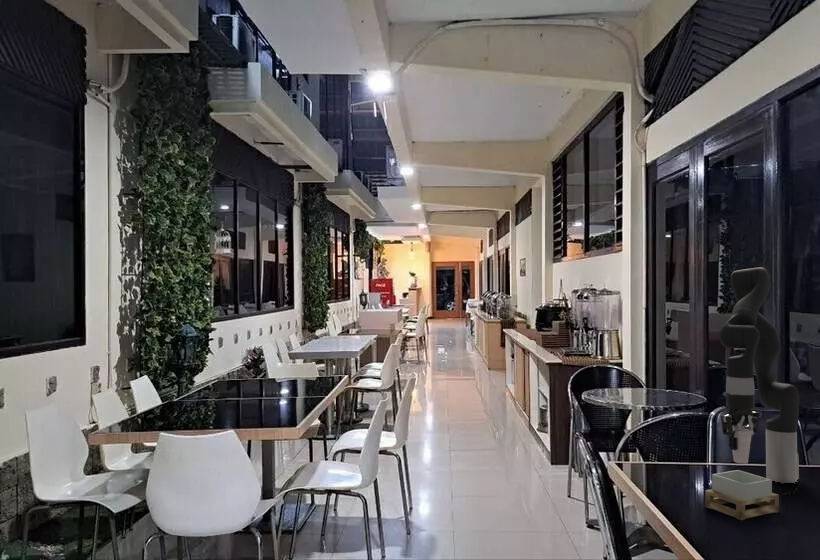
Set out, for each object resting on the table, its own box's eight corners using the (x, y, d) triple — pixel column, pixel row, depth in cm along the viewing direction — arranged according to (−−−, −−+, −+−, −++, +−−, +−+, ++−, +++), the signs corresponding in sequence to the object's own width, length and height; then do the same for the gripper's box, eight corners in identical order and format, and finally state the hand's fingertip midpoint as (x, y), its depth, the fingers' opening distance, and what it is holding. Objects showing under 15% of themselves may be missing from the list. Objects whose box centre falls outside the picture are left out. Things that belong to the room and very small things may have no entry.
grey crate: (737, 484, 193) (737, 469, 193) (771, 495, 182) (771, 479, 183) (712, 489, 188) (712, 474, 188) (745, 500, 178) (745, 484, 178)
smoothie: (756, 465, 182) (755, 417, 182) (732, 464, 183) (732, 416, 183) (748, 459, 188) (748, 413, 188) (726, 458, 189) (725, 412, 190)
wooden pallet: (742, 499, 194) (742, 483, 194) (778, 511, 183) (778, 494, 183) (705, 506, 187) (705, 490, 187) (741, 520, 176) (741, 502, 177)
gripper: (745, 388, 192) (746, 443, 192) (712, 391, 186) (713, 448, 186) (768, 392, 185) (768, 448, 185) (734, 395, 180) (735, 454, 179)
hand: (740, 448), depth 186 cm, fingers closed on smoothie, 5 cm apart
